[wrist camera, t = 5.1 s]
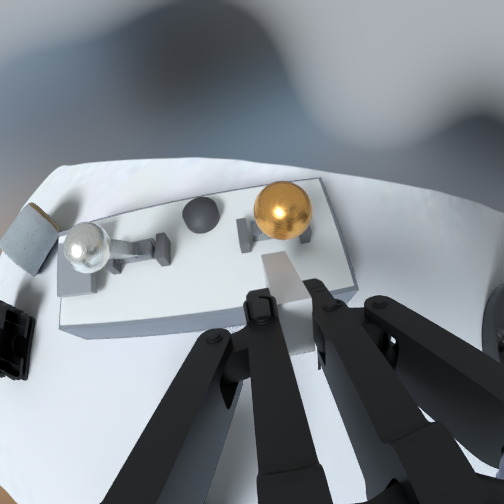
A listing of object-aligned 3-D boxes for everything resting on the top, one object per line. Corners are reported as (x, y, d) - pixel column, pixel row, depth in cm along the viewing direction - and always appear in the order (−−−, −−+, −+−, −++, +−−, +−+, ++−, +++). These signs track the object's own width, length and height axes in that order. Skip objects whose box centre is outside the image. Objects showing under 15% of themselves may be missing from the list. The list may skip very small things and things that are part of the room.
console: (344, 306, 25) (365, 281, 19) (86, 339, 25) (46, 324, 19) (315, 206, 31) (322, 164, 25) (93, 246, 31) (63, 217, 25)
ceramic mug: (71, 234, 32) (39, 203, 25) (42, 283, 29) (5, 259, 22) (41, 216, 35) (15, 189, 28) (17, 256, 32) (-13, 233, 25)
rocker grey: (97, 293, 21) (88, 291, 20) (63, 297, 21) (54, 295, 20) (96, 226, 23) (89, 221, 22) (64, 235, 23) (56, 231, 22)
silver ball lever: (159, 266, 23) (99, 269, 13) (124, 272, 23) (54, 277, 13) (154, 230, 23) (94, 211, 13) (120, 238, 23) (50, 225, 13)
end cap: (12, 307, 28) (-19, 291, 22) (37, 315, 27) (2, 298, 21) (3, 370, 23) (-30, 361, 17) (27, 385, 23) (-10, 377, 17)
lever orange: (296, 244, 23) (328, 231, 13) (254, 251, 23) (255, 243, 13) (290, 207, 23) (315, 169, 13) (248, 213, 23) (244, 178, 13)
